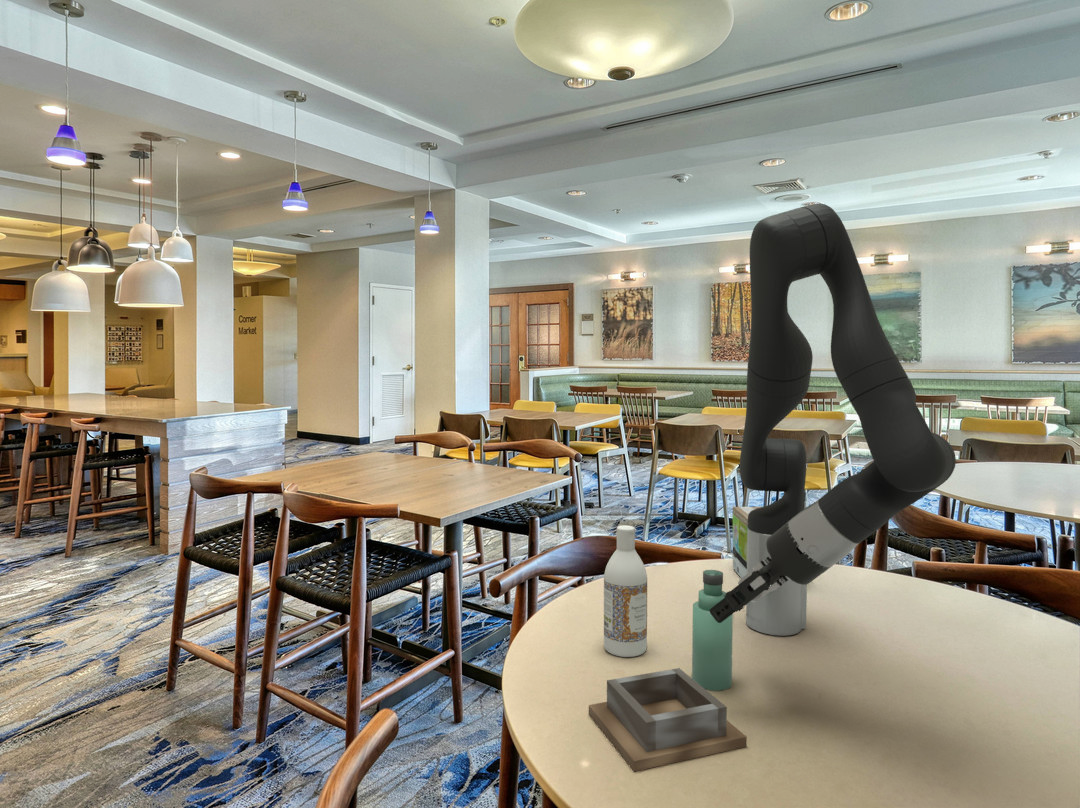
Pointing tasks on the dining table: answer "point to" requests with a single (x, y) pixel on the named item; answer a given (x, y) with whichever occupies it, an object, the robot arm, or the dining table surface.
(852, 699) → the dining table surface
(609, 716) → the bottle stand
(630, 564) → the bath foam
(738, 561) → the tea box
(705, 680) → the green bottle
